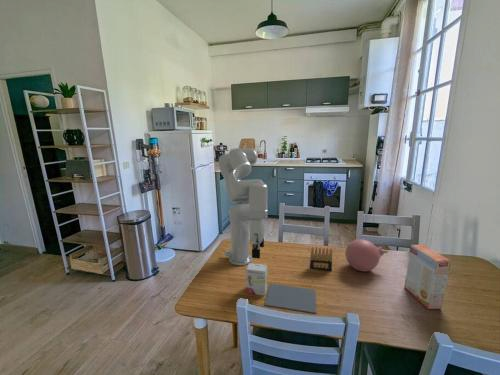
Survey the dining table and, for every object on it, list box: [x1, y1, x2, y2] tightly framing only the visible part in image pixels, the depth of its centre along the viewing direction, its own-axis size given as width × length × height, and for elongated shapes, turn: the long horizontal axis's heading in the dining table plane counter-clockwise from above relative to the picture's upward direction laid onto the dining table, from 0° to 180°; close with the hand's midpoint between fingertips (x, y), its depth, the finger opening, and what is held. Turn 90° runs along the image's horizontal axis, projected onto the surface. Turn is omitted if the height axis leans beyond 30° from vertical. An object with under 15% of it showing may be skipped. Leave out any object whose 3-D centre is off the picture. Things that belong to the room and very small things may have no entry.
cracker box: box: [404, 244, 452, 310], centre depth 98 cm, size 14×6×21 cm, turn 2°
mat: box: [264, 283, 317, 314], centre depth 101 cm, size 20×14×1 cm
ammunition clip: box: [309, 246, 333, 272], centre depth 120 cm, size 11×2×12 cm, turn 79°
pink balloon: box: [345, 238, 388, 272], centre depth 120 cm, size 15×20×15 cm
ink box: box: [245, 262, 268, 296], centre depth 104 cm, size 9×5×12 cm, turn 77°
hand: (258, 252), depth 101 cm, fingers open, 9 cm apart
